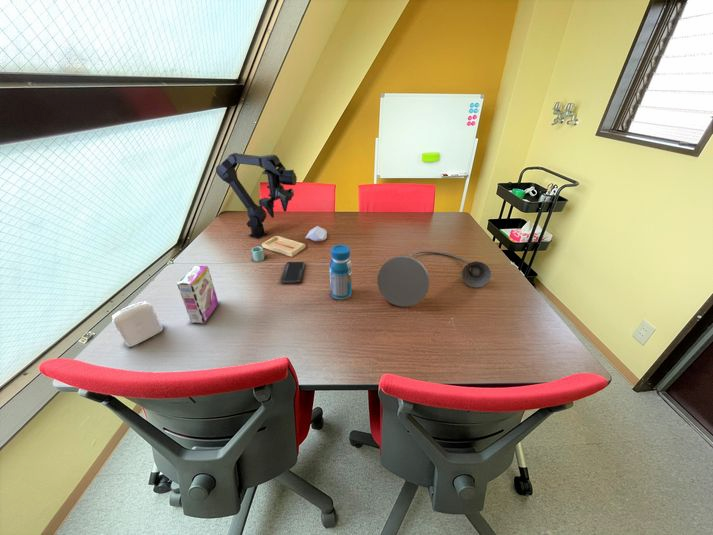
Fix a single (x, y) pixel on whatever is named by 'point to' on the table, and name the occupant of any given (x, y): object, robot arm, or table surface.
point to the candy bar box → (198, 294)
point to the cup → (258, 253)
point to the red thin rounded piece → (284, 245)
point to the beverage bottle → (340, 272)
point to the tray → (281, 249)
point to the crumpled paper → (317, 234)
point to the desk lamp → (420, 278)
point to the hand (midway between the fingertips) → (279, 214)
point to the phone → (293, 272)
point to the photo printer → (137, 323)
